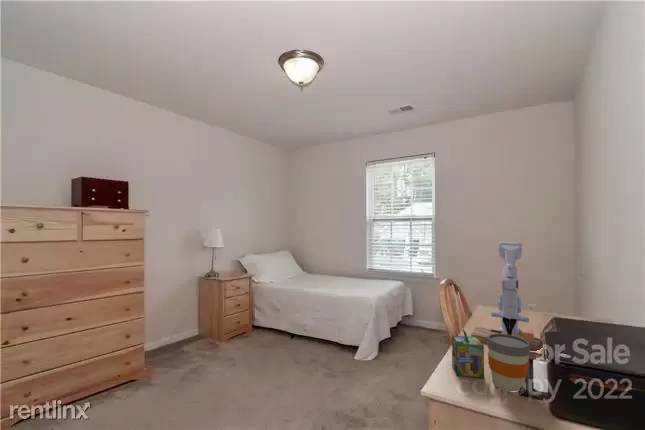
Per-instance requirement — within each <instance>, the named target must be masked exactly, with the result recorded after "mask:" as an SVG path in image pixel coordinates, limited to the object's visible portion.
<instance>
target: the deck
mask: <svg viewBox="0 0 645 430" xmlns="http://www.w3.org/2000/svg"><path fill="white" fill-rule="evenodd" d="M491 334H507V332H504V331H500V330H497V329H493V328H492V329H491V328H488V327H482V326H476V327H474V329H473V331H472V332H471V334H470V337H477V338H478V339H479V340H480V342H481V343H485V344H487V341H488V336H489V335H491ZM507 335H508V334H507ZM512 335H513V336H516V337H519V338H522V334H519V333H518V334H514V333H512ZM543 339H544V332H542V331H540V337H534V343H529V342H528V343H529V345H530V351H537V350H540V349H541V348H542V345H544V340H543Z"/></svg>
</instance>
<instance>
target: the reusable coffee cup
mask: <svg viewBox="0 0 645 430" xmlns="http://www.w3.org/2000/svg"><path fill="white" fill-rule="evenodd" d="M486 346H487V348H488V352H487V359H488V367H489V369H490V371H491V381H492V384H493V385H494V386H495V387H496V388H497V389H500V390H503V391H505V392H508V391H517V390H519V389H520V388H521V387H522V386H523V385H524V386H525V382H526V378H527V376H528V373H529V367H530V360H529V358H530V355H531V353H530V345H529V343H528V342H527V341H526V340H524V339H522V338H519V337H516V336H513V335H507V334H491V335H489V336H488V341H487V343H486Z"/></svg>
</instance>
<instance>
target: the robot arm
mask: <svg viewBox="0 0 645 430" xmlns="http://www.w3.org/2000/svg"><path fill="white" fill-rule="evenodd" d="M522 245H523V244H522V242H521V241H502V240H500V241H499V243H498V253H499V258H501V259H502V260H503V261H504V264H505V265H504V266H503V268H502V278H501V293H499V295H498V303H497V304H498V311H491V312H490V313H491V314H490V316H491V317H493V318H494V317H495V318H501V321H500V322H501V323H500V327H499V331H503V332H507V334H508V335H512V333H513V334H519V333H520V327H519V322H525V323H527V324H529V323H530V317H529V316H523V315H520V314H521V313H522V298H521V296H520V295H518V291H519V287H520V286H519V285H520V284H519V277H518V268H517V266H515V265H516V263H517V261H518V260H520V259H521V258H522V254H523V253H522V252H523V251H522V248H523V247H522Z"/></svg>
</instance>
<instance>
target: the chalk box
mask: <svg viewBox="0 0 645 430" xmlns="http://www.w3.org/2000/svg"><path fill="white" fill-rule="evenodd" d="M462 332H463V334H462V335H458V334H457V335H455V334H452V335H451V347H452V349H451V355H452V356H451V365H452V368H453V370H454V372H455V375H456V376H457V377H468V378H480V379H485V345H484V344H483V342H480V340H479V339H478V338H477V337H471V335H470V336H469V335H468V334H467V332H466V330H465V329H464V328H462Z"/></svg>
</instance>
